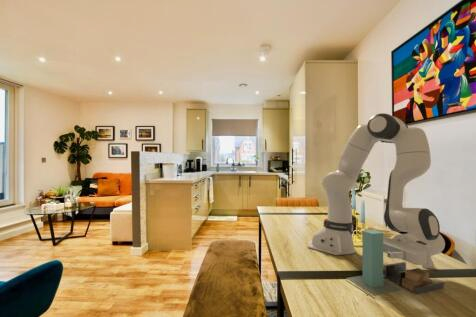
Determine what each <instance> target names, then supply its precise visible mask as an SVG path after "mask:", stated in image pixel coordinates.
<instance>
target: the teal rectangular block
mask: <svg viewBox="0 0 476 317" xmlns="http://www.w3.org/2000/svg"><path fill="white" fill-rule="evenodd" d="M383 236H384V232H382V231H379V230H375V229H367V230H365V229H364V230H362V275H363V281H362V282H364V283H365V284H367V285H369V286H370V287H377V286H382V285H383V280H384V278H383V275H384V252H383Z"/></svg>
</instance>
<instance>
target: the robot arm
mask: <svg viewBox="0 0 476 317" xmlns="http://www.w3.org/2000/svg"><path fill="white" fill-rule="evenodd" d="M378 142H381V143H386V144H388V143H389V144H394V146H395V151H396V153H395V154H396V155H395V156H396V157H395V158H396V160H395V165H394V167H393V169H392V170H391V172H390V174H389V177H388V186H387V196H386V205H385V210H384V213H383V220H384V223H385V225H386V226H387V227H388V228H389V230H391V231H392V232H397V233H398V232H401V233H400V234H396V235H394V236H393V238H390V237H387V236H384V235H383V253H385V254H386V255H387V257H388V258H389V259H399V260H403V262H406V263H407V262H408V263H409V264H412V265H417V266H422V265H423V264H430V263H431V259H432V257H433V256H436V255H438V254H440V253H441V252H442V253H443V251H444V249H445V246H446V241H445V239H444V238H443V236H442V235H441V234H440V230H441V229H440V228H441V227H440V222H439V219H438V217H437V216H436V215H435V213H434V212H433V211H432V210H430V208H429V209H428V208H423V207H421V208H420V207H404V206H403V200H404V192H405V187H406V185H407V184H408V183H410V182H411V181H413V180H415V179H417V178H419V177H421V176H423V175H424V174H425V173H427V171H428V170H429V169H430V167H431V163H432V159H431V150H430V144H429V141H428V138H427V135H426V132H425V130H423V129H422V128H420V127H415V126H414V127H409V126H408V125H407V123H406V122H405V121H402V119H400V118H398V117H397V116H393V115H391V114H389V113H382V112H381V113H376V114H374V115H373V116H371V117H370V118H369V120H368V122H367V124H364V123H363V124H360V125H358V126H357V127H356V128H355V130H354V131H353V132H352V133H351V135H350V137H349V138H348V140H347V142H346V143H345V145H344V147H343V149H342V151H341V153H340V155H339V160H338V164H337V168H336V170H335V171H330V172H329V173H326V174H325V176H324V177H323V179H322V182H321V186H322V188H323V189H324V191H325V196H326V203H327V217H325V218H324V220H323V226H322V227H321V228H319V229H317V230H315V231H314V233H313V234H312V237H311V239H310V240H309V241H308V242H307V245H306V246H307V248H308V249H312V250H315V251H319V252H324V253H327V254H331V255H334V256H340V255H341V256H342V255H351V254H354V253H356V248H355V244H354V239H353V238H354V237H353V234H354V225H353V224H354V223H353V220H352V219H353V216H352V212H353V207H352V206H353V205H352V203H351V199H350V195H349V192H350V191H352V190H353V189H354V188H355V186H356V182H358V181H357V180H358V178H359V175H360V173H361V171H362V168H363V165H364V164H365V162H366V160H367V159H368V156H369V155H370V153H371V151H372V149H373V147H374V146H375V144H376V143H378ZM402 232H403V233H402Z"/></svg>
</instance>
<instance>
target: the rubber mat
mask: <svg viewBox="0 0 476 317" xmlns="http://www.w3.org/2000/svg"><path fill="white" fill-rule="evenodd" d="M345 281H346V282H347V283H349V284H350V285H351V286H354V287H355V288H356V289H358V290H360V291H362V293H364V294H366V295H368V296H369V297H371V298H373V300H375V299H376V297H375V296H380V295H384V294H389V293H393V292H398V291H402V290H403V288H402V289H401V287H400V288H399V287H398V286H397V285H394V284H392V283H390V282H388V281H387V280H386V279H385V280H384V279H383V285H382V286H377V287H370V286H369V285H367V284H365V283H364V282H362V281H363V274H362V275H357V276H351V277H350V276H349V277H346V280H345ZM361 288H362V289H361ZM370 294H371V295H370Z"/></svg>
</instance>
